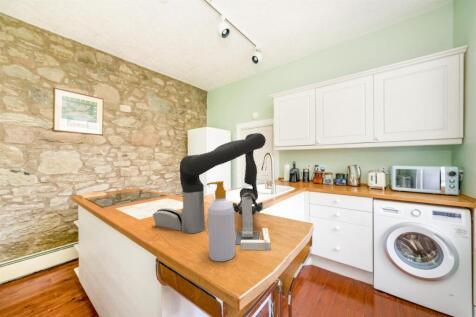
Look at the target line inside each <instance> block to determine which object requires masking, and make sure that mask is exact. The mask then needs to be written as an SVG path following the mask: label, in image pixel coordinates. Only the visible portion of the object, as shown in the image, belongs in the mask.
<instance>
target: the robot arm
mask: <svg viewBox="0 0 476 317" xmlns="http://www.w3.org/2000/svg"><path fill="white" fill-rule="evenodd" d="M266 141H267V140H266V136H265V135H264V134H262V133H260V132H256V133H250V134H247V135H246V136H245V138H244V139H239V140H238V139H236V140H232V141H230V142H226V143H223V144H221V145H218V146H217V147H216V148H214V149H213V150H212V151H208V152H205V153H201V154H191V155H186V156H184V157H182V158H181V160H180V162H179V180H180V186H181V189H182V209H181V210H180V211H181V212H180V213H181V216H182V230H181V232H182V233H186V234H196V233H200V232H203V231H205V229H206V222H205V219H206V218H205V217H206V216H205V193H204V192H205V190H204V188H205V186H204V184H203V182H202V181H201V179H200V175H203V174H204V173H206V172H208V171H210V170H211V169H213V168H215V167H218V166H220V165H224V164H225V163H228V162H231V161H233V160H235V159H237V158H239V157H242V156H244V157H245V158H244V159H245V167H244V168H245V170H244V183H245V184H247V185H250V186H251V187H252V188H249V187H248V188H247V187H243V188H241V189H240V191H239V198H240V201H239V202H238V204H237V203H235V202H233V203H232V205H233V208H234V213H238V215H240V216H242V201H241V200H242V197H252V216H254V215H255V214H256V212H257V213H260V212H261V211H263V209H264V204H263V202H259V203H257V200H258V198H259V192H258V188H257V187H258V186H257V179H258V167H257V164H256V161H255V157H254V151H256V150H260V149H262V148H263V147H264V146H265V145H266Z"/></svg>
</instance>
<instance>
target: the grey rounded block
mask: <svg viewBox="0 0 476 317" xmlns="http://www.w3.org/2000/svg"><path fill="white" fill-rule="evenodd" d="M152 217H153V220H154V224H155V226H156V227H161V228H166V229H171V230H176V231H181V232H182V216H181V212H180V211H179V210H177V209H173V208H169V207H163V208H160V209H157V210H156V211H154V213H152Z"/></svg>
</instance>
